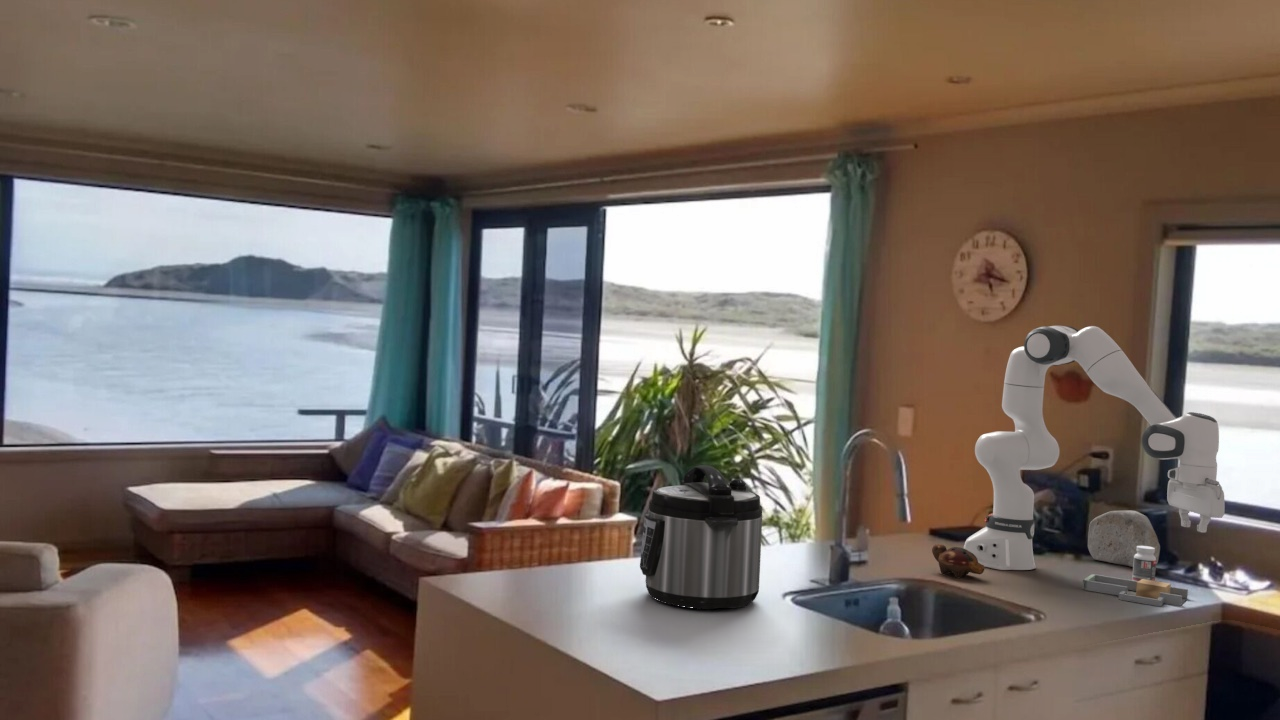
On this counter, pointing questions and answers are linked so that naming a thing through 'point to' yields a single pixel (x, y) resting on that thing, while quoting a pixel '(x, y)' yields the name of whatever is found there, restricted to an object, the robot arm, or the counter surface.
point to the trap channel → (1122, 585)
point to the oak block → (1151, 588)
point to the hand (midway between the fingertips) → (1193, 529)
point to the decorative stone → (1120, 536)
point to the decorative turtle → (956, 560)
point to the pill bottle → (1144, 564)
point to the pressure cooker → (703, 542)
